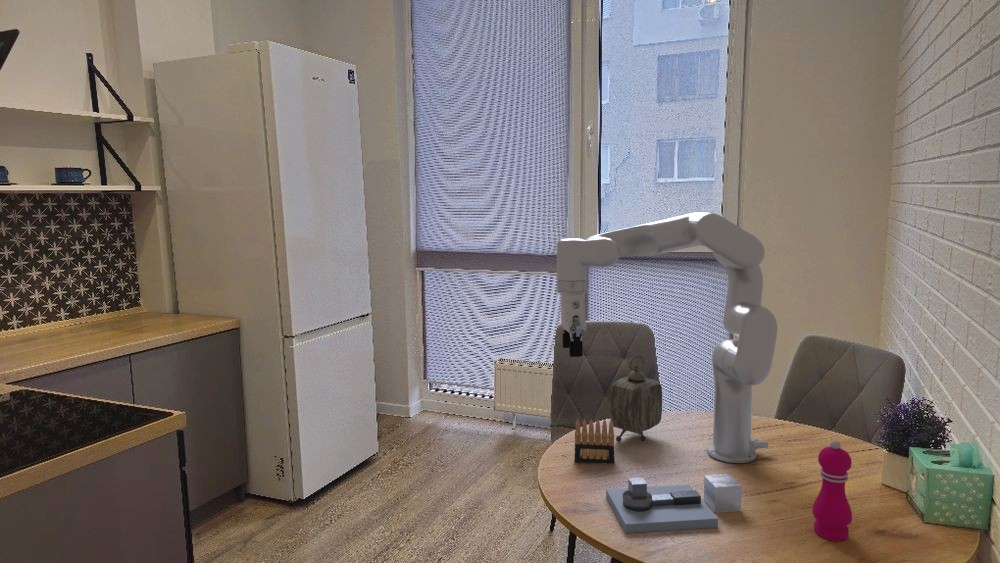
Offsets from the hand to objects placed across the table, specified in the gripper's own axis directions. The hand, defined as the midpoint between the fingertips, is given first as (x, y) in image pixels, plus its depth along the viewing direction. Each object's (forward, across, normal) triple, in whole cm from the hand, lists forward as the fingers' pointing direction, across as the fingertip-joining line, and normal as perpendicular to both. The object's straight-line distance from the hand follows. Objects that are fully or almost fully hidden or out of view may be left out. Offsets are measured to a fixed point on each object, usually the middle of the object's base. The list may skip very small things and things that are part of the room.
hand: (572, 351), depth 159 cm
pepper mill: (+31, -40, -46) cm, 68 cm away
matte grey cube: (+31, -26, -29) cm, 50 cm away
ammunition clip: (+31, +1, -6) cm, 31 cm away
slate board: (+31, -27, -14) cm, 43 cm away
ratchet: (+29, -27, -15) cm, 42 cm away
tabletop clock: (+31, +15, -22) cm, 41 cm away
